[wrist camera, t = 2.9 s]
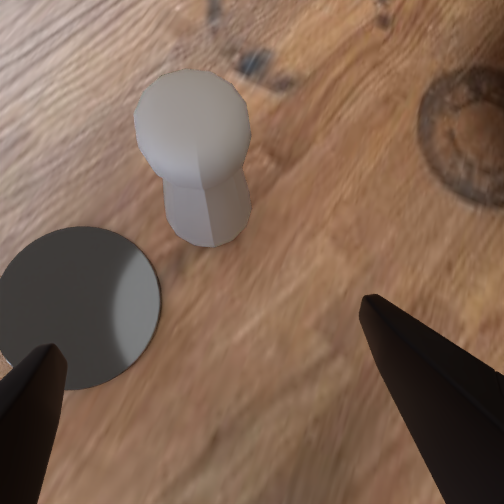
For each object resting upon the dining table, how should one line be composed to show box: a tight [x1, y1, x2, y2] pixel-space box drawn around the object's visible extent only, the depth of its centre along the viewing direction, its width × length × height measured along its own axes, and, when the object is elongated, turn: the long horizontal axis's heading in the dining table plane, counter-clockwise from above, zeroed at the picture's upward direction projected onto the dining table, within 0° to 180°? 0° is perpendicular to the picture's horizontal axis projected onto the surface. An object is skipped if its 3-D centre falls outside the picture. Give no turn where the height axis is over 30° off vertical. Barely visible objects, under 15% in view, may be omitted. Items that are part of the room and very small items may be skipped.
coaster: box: [0, 226, 161, 390], centre depth 22 cm, size 11×11×1 cm
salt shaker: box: [134, 69, 252, 247], centre depth 17 cm, size 6×6×13 cm
